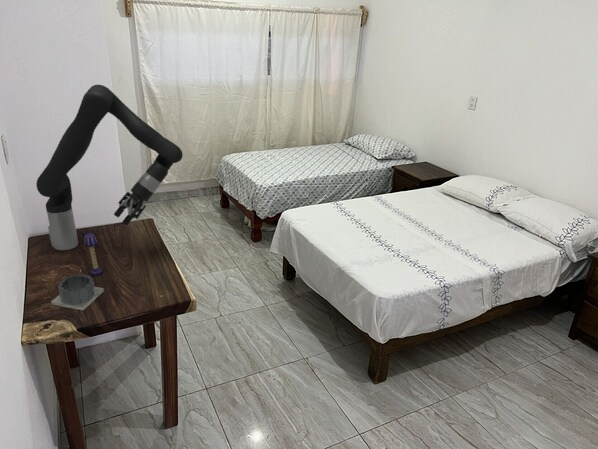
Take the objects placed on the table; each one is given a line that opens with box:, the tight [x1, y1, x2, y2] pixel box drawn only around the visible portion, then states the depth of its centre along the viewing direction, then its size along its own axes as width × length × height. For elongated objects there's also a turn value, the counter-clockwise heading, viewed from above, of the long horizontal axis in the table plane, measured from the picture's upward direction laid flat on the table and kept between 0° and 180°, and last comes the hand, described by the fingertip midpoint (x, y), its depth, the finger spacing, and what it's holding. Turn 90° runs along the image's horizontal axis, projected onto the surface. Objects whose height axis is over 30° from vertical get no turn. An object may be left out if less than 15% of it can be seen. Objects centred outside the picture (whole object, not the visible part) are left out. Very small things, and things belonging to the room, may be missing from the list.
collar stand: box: [50, 273, 105, 311], centre depth 151 cm, size 12×12×6 cm
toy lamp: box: [83, 232, 103, 276], centre depth 164 cm, size 5×5×17 cm
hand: (120, 220), depth 166 cm, fingers open, 8 cm apart
